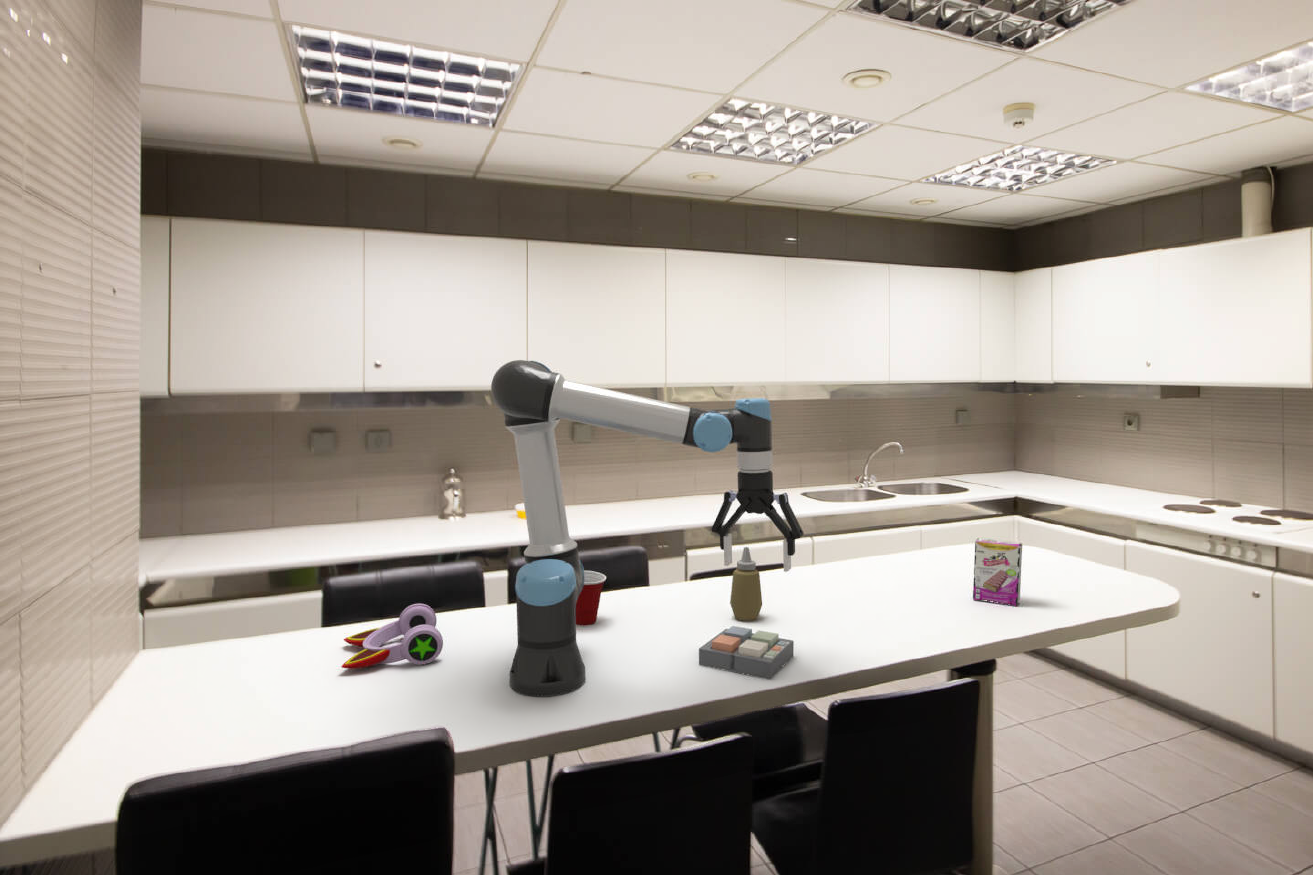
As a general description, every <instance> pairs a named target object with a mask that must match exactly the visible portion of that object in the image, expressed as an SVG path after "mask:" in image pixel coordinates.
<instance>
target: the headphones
mask: <svg viewBox="0 0 1313 875" xmlns="http://www.w3.org/2000/svg"><path fill="white" fill-rule="evenodd" d="M436 625H437V615H436V613H435V611H434V609H433V608H431V606H429V605H428V604H424V603H414V604H411V605H408V606H407V607H405V609H403V611H402V612H401V613H400V615H399V618H398V619H397V620H395V621H392V622H390V623H387V624H385V625H383V626H381V627H376V628H371V629H369V630H365V631H360V632H358V633H356V634H353V635H351V636H348V637H346V638H343V641H344V642H346V644H349V645H352V646H354V647H360V648H361V647H362V648H363V650H360V651H359V652H357V653H356V654H354V655H352V656H351V657H349V659H347V660H346V661H345V662H344V663H343V664H342V665H341V666H340V667H341V668H343V669H347V670H348V669H350V670H352V669H353V670H354V669H363V668H368V667H372V666H375V665H387V664H393V663H397V662H401V661H404V660H405V661H406V660H407V661H408V662H409V663H411V664H413V663H414V664H413V665H420V664H424V665H427V664H426V663H428V664H429V663H431V662H432V663H433V661H436V660H435V659H437V658H438V657H439V656H440V654H441V652H442V650H443V646H444V639H443V636H442V634H441V632H440V630H439V629H437V628H436ZM400 636H403V638H402V640H401V642H399V643H396V644H393V645H388V646H382V645H383V644H386V643H387V642H389V641H390V640H393V639H395V638H398V637H400ZM380 646H381V647H380ZM378 663H379V664H378ZM420 666H421V665H420Z"/></svg>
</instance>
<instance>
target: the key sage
mask: <svg viewBox="0 0 1313 875" xmlns="http://www.w3.org/2000/svg"><path fill="white" fill-rule="evenodd" d="M753 634H754V635H752V636H751V640H753V641H759V642H764V643H768V647H769V648H772V647H773V646H775V645H776V644H777V643H778V638H779V633H778V632H777V633H776V632H771V631H763V630H757V631H756V632H755V633H753Z"/></svg>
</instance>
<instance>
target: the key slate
mask: <svg viewBox="0 0 1313 875" xmlns="http://www.w3.org/2000/svg"><path fill="white" fill-rule="evenodd" d="M727 629H728V630H726V631H725V632H724V635H726V636H731V637H737V638H740V642H742V643H744V642H745V641H746V640H747V639H748V640H749V639H750V638H751V636H752V633H753V629H752V628H746V627H741V626H735V625H732V626H730V627H729V628H727Z"/></svg>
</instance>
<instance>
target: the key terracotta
mask: <svg viewBox="0 0 1313 875" xmlns="http://www.w3.org/2000/svg"><path fill="white" fill-rule="evenodd" d="M739 646H740V638H737V637H731V636H726V635H720V636H718V637H717V638H716V639H714V640H713V641H712V649H715V650H721V651H726V652H731V653H733V652H734V651H735V650H737V649H738V648H739Z"/></svg>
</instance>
